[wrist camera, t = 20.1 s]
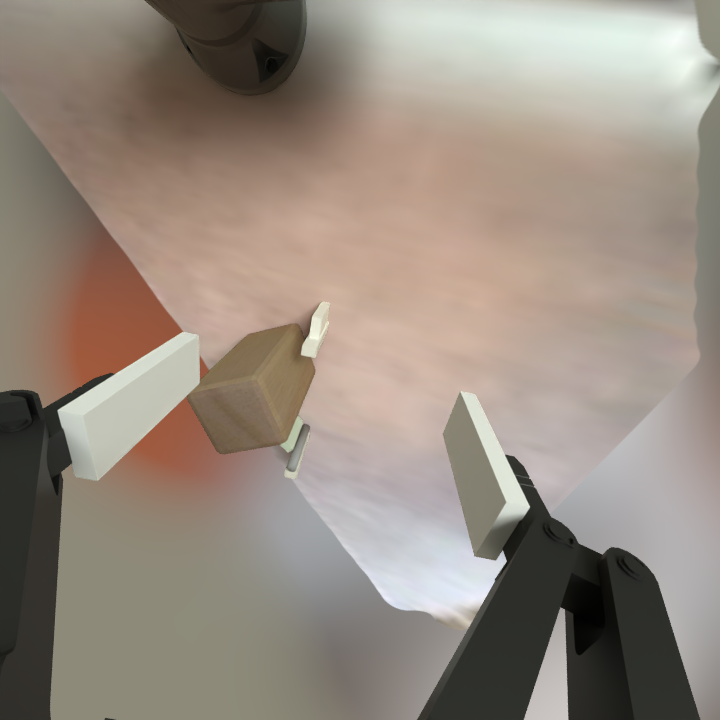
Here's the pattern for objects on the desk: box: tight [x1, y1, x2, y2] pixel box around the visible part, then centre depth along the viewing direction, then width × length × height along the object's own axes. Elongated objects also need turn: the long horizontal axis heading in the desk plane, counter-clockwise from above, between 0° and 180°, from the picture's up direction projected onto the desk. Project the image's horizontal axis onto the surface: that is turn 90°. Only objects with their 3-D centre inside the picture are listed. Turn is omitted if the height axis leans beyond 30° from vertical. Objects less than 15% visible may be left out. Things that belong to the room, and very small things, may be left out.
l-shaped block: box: [285, 301, 330, 479], centre depth 54 cm, size 31×2×11 cm, turn 168°
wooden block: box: [187, 324, 315, 454], centre depth 47 cm, size 10×10×20 cm
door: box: [220, 358, 303, 453], centre depth 56 cm, size 19×3×8 cm, turn 34°
